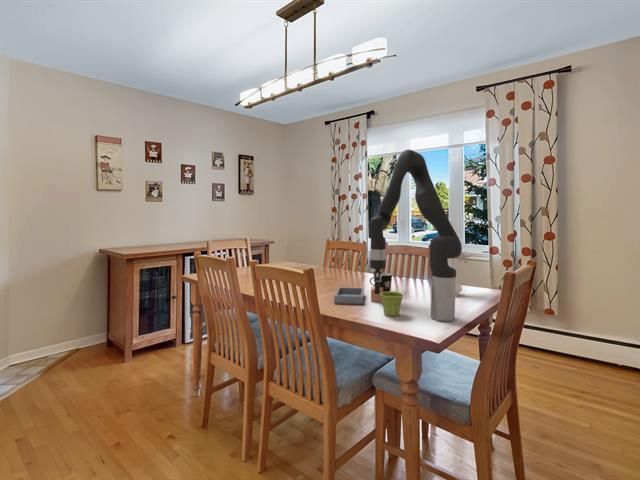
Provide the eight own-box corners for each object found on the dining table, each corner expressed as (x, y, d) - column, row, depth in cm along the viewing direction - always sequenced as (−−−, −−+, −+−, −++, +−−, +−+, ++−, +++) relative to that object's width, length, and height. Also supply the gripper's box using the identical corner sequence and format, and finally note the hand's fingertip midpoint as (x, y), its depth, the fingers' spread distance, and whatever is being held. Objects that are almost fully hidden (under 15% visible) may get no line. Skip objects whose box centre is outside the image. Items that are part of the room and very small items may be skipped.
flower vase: (472, 293, 183) (474, 245, 181) (455, 299, 171) (456, 248, 169) (448, 289, 193) (450, 243, 191) (430, 295, 180) (432, 246, 178)
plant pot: (386, 310, 154) (387, 290, 153) (407, 314, 148) (407, 293, 147) (375, 315, 147) (376, 294, 146) (396, 319, 141) (396, 298, 140)
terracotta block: (382, 302, 167) (382, 289, 166) (371, 301, 168) (371, 289, 167) (382, 299, 172) (382, 287, 172) (371, 299, 173) (371, 287, 173)
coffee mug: (391, 291, 189) (391, 272, 188) (392, 295, 181) (393, 275, 180) (369, 290, 190) (369, 272, 190) (369, 294, 182) (370, 275, 181)
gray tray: (362, 304, 162) (362, 296, 162) (334, 303, 164) (334, 295, 164) (363, 295, 180) (363, 288, 180) (338, 294, 182) (338, 287, 182)
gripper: (386, 260, 161) (385, 295, 163) (385, 256, 175) (384, 288, 177) (369, 260, 162) (368, 295, 164) (370, 255, 176) (369, 287, 178)
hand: (377, 291), depth 170 cm, fingers open, 8 cm apart
